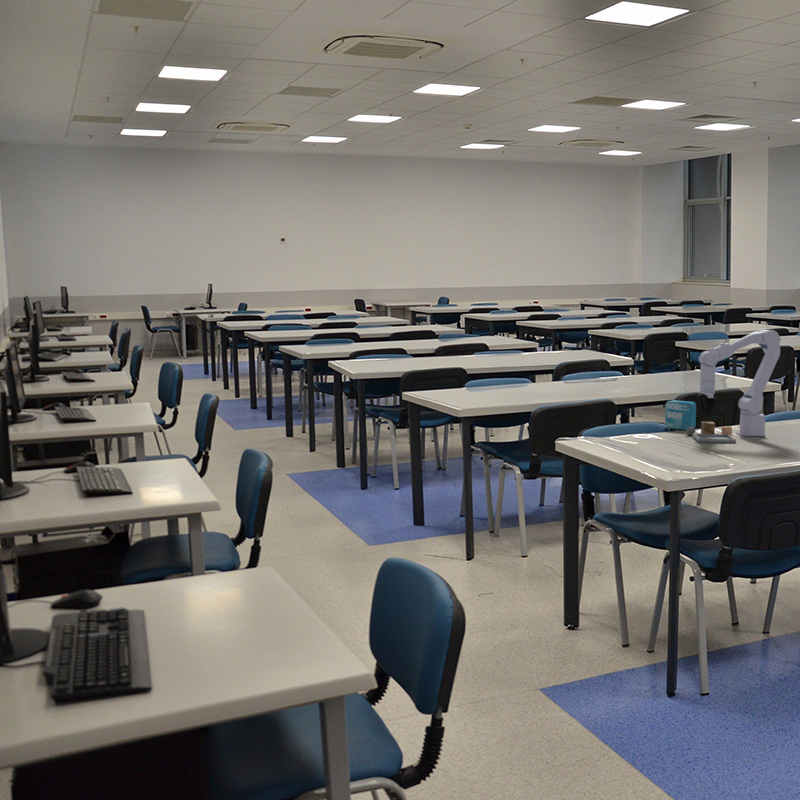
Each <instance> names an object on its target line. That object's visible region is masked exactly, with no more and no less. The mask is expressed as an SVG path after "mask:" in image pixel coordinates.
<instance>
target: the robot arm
mask: <svg viewBox="0 0 800 800" xmlns="http://www.w3.org/2000/svg"><path fill="white" fill-rule="evenodd" d="M781 340H782V339H781V336H780V335H779V333H778V332H777V331H776V330H774V329H770V330H769V329H764V328H762V329H757V331H753V332H750V333H749V334H747V335H745V336H743V337H741V338H739V339H737V340H735V341H733V342H732V343H729V342H721V343H720V344H719V345H718V346H715V347H711V348H709V350H706V351H705V350H704V351H702V352H700V355H699V356H698V362H699V363H700V371H699V372H700V374H699V377H700V378H699V390H697V391H696V393H697V397H698V400H699V403H700V410H701V412H702V413H703V412H704V413H705V415H709V416H711V415H712V413H713V409H714V406H715V403H716V402H717V400H718V398H717V397H714V395H715V393H716V391H715V388H716V387H715V386H716V384H715V383H716V365H717V364H718V362H720V361H723V360H725V359H727V358H730V357H732V356H733V354H734V353H735V351H737V350H739V349H743V348H745V347H747V346H750V345H753V344H757V345H759V347H760V348H761V349H762V351H763V353H764V355H763V357H762V360H761V362H760V364H759V367H758V369H757V371H756V373H755V376H754V378H753V380H752V383H751V384H750V387H749V389H747V390H746V391H745V392H744V394H743V396H742V397H740V398H739V400H738V402H737V405H738V408H739V410H740V413H739V417H740V418H739V431H736V434H738V435H740V436H741V437H765V436H766V433H765V432H766V416H765V414H764V413H760V412H761V411H762V409H763V401H764V395H763V393H764V390H765V389H766V387H767V385H768V382H769V380H770V378H771V376H772V374H773V371H774V370H775V367H776V365H777V362H778V360H779V359H780V356H781V343H780V342H781Z"/></svg>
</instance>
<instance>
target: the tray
mask: <svg viewBox="0 0 800 800" xmlns="http://www.w3.org/2000/svg"><path fill="white" fill-rule="evenodd" d="M692 439H694V440H695V441H696V442H697V443H701V444H703V443H704V444H706V443H707V444H709V443H710V444H716V443H717V444H737V443H736V442H737V441H736V440H737V439H736V438H735V437H733V436H730V435H729V434H721V433H715V434H701V433H694V434H693V435H692Z"/></svg>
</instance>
